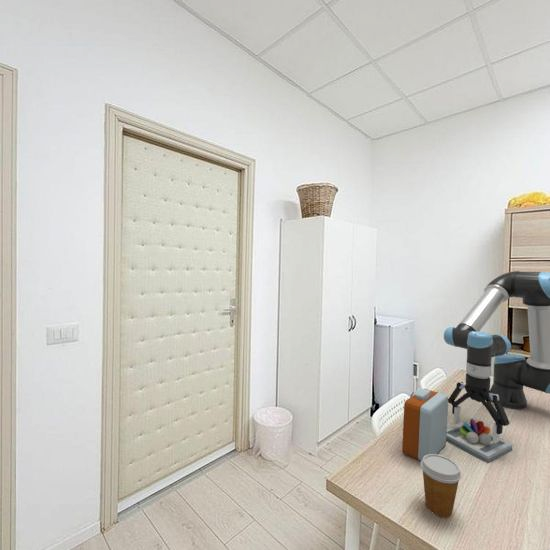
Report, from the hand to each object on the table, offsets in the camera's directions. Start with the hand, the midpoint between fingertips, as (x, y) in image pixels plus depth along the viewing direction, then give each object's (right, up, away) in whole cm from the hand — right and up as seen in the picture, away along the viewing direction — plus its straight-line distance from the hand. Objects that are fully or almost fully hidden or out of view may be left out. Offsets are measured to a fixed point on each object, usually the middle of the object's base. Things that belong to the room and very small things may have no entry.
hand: (475, 432), depth 113 cm
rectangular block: (-21, -4, -4) cm, 21 cm away
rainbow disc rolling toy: (0, -3, 0) cm, 3 cm away
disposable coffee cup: (-30, -5, -31) cm, 43 cm away
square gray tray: (0, -4, 0) cm, 4 cm away
